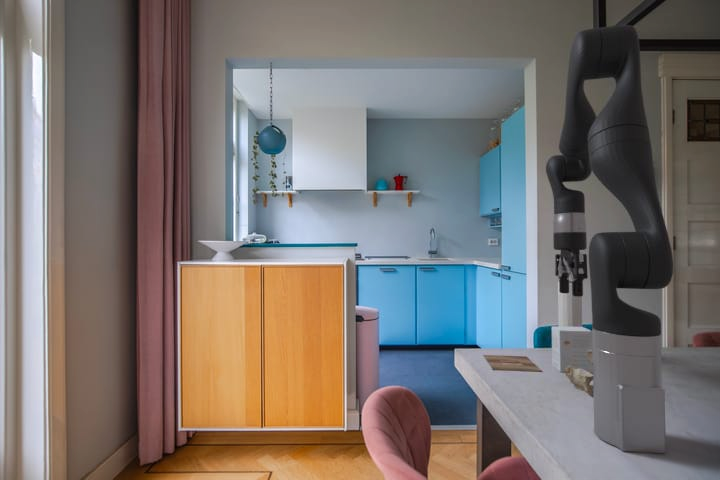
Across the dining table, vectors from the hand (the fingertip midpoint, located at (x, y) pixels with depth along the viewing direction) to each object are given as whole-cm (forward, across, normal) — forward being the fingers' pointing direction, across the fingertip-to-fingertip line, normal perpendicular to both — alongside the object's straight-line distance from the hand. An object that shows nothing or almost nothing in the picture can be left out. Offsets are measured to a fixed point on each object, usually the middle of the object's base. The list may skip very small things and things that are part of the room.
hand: (570, 294), depth 100 cm
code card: (+19, +4, +14) cm, 24 cm away
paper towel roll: (+19, +13, -5) cm, 24 cm away
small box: (+19, 0, 0) cm, 19 cm away
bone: (+20, -16, +3) cm, 25 cm away
